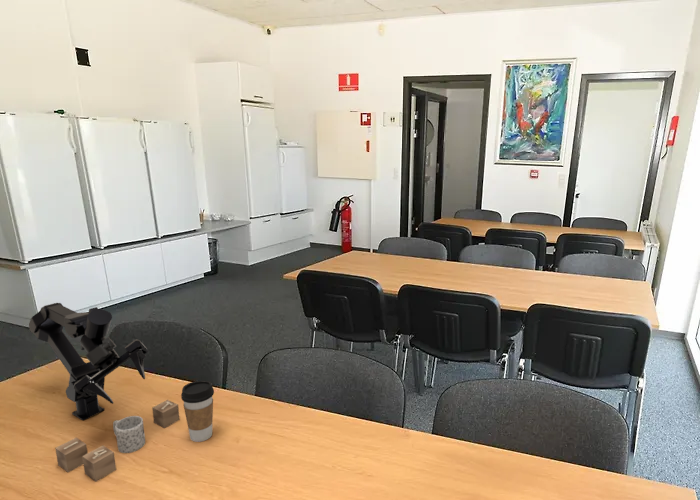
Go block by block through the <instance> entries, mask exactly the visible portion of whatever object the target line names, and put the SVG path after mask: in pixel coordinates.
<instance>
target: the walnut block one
mask: <svg viewBox="0 0 700 500" xmlns="http://www.w3.org/2000/svg"><path fill="white" fill-rule="evenodd" d="M87 446H88V444H87V443H86V442H84V441H82V440H81V439H79V438H78V437H74V438H72V439H70V440H68V441H67V442H64V443H62V444H60V445H58V446H56V447H55V455H56V461H57V466H58V467H60V468H61V469H62V470H64V471H65V472H66V473H70V472H72V471H75V470H76V469H77V468H79V467H81V466H84V464H83V458H82V456H84V455H86V454H87V453H89V452H88V447H87Z"/></svg>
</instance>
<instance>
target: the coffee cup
mask: <svg viewBox="0 0 700 500" xmlns="http://www.w3.org/2000/svg"><path fill="white" fill-rule="evenodd" d="M214 391H215V390H214V388H213V383H212V382H211V381H210V380H196V381H191V382H189V383H186V384H185V385H184V386H183V387H182V389H181V395H180V396H181V400H182V401H183V408H184V409H183V410H184V414H185V419H186V420H185V421H186V424H187V429H188V435H189V439H190V440H191V441H192V442H196V443H197V442H198V443H199V442H200V443H201V442H204V441H207V440H208V439H210V438H212V435H213V418H214V399H213V396H214V393H215V392H214Z"/></svg>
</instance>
